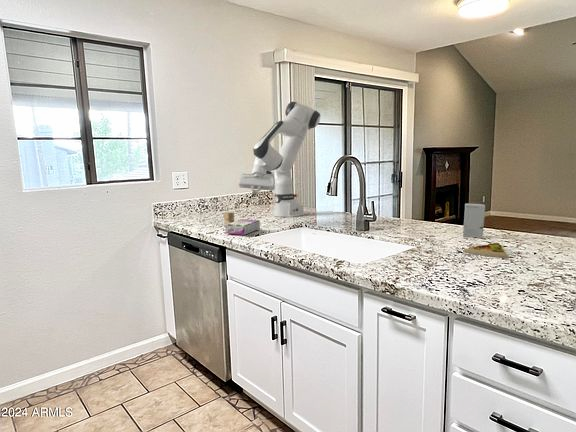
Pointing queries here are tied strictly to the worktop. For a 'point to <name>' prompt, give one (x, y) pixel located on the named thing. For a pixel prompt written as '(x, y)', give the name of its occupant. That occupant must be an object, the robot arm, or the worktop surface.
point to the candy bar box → (242, 226)
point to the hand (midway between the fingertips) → (254, 193)
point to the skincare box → (474, 220)
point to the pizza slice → (488, 250)
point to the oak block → (228, 217)
